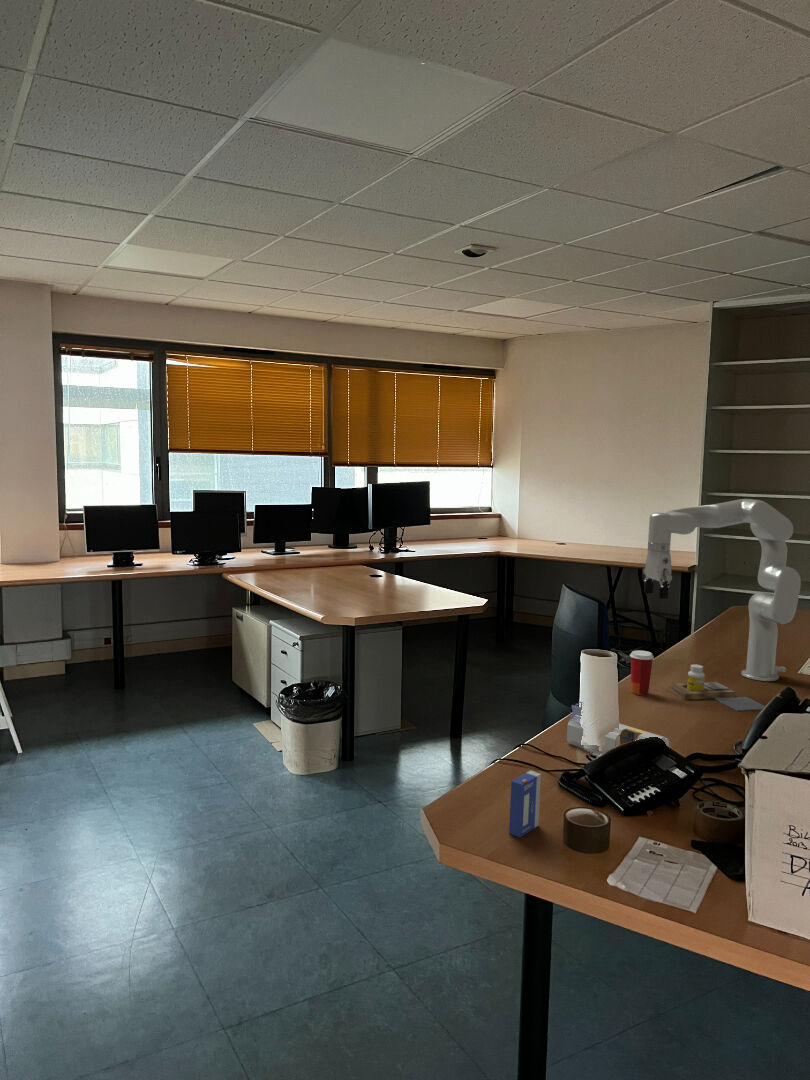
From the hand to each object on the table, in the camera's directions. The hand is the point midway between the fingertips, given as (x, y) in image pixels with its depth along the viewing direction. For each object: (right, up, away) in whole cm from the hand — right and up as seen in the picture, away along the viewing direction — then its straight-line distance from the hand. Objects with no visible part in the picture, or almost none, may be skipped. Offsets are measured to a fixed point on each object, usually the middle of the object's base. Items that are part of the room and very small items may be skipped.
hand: (655, 595), depth 276 cm
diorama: (-32, -39, -64) cm, 81 cm away
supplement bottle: (+10, -33, -10) cm, 36 cm away
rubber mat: (+22, -34, -20) cm, 45 cm away
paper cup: (-9, -33, -10) cm, 35 cm away
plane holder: (+12, -33, -9) cm, 36 cm away
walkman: (-63, -42, -109) cm, 133 cm away
